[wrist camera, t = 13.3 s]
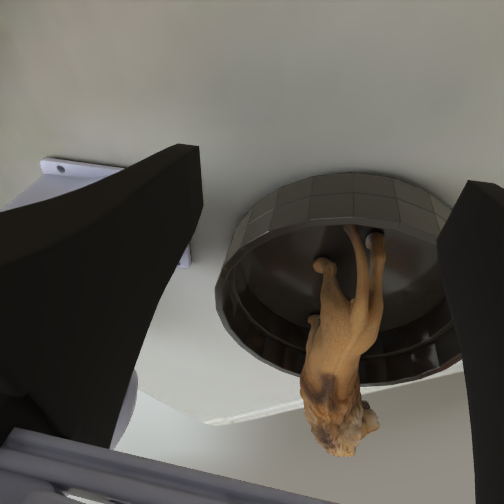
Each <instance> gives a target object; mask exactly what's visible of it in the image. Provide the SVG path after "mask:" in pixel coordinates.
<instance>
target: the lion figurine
mask: <svg viewBox="0 0 504 504" xmlns="http://www.w3.org/2000/svg"><path fill="white" fill-rule="evenodd" d="M343 227H344V230H345V231H346V233H347V234H348V236H349V237H350V239H351V242H352V244H353V247H354V250H355V255H356V263H357V289H356V297H355V298H354V299H352V300H350V298H349V297H348V295H347V294H346V293H345V292H344V290H343V289H342V288H341V287H340V286H339V284H338V281H337V279H336V277H335V276H336V272H337V268H336V264H335V263H333V262H332V261H330V260H329V259H328V258H325V257H320V258H317V259H316V260H315V261H314V262H313V267H314V269H315V271H317V272H318V273H323V283H322V288H321V293H320V301H321V312H320V315H316V314H315V315H311V316H309V317H308V322H309V323H310V324H311V329H310V332H309V337H308V341H307V345H306V353H307V354H306V359H305V364H304V366H303V369H302V371H301V374H300V387H301V389H300V395H301V397H302V399H303V401H304V409H305V416H306V419H307V421H308V422H309V424H310V425H311V431H312V433H313V435H314V437H315V440H316V441H317V443H318V444H320V445H321V446H322V447H324V448H325V449H326V451H327V453H329V454H333V455H335V456H338V457H339V456H354V455H355V452H356V447H355V446H358V445H359V443H360V440H361V439H362V438H364V437H365V436H366V434H368V433H370V432H373V431H375V430H377V429H378V428H379V427H380V424H379V422H378V418H377V415H376V413H375V412H374V411H373V410H372V409H370V406H369V403H368V402H367V401H361V393H360V379H359V373H358V368H359V360H360V355H361V354H363V353H364V352H366V351H367V350H368V349H369V348H370V347H371V346H372V345H373V344H374V342H375V341H376V339H377V335H378V331H379V326H380V322H381V318H382V313H383V298H382V279H383V269H384V263H385V260H386V254H385V250H384V245H385V236H384V235H383V234H382V233H377V232H375V233H371V234H369V235H368V236H367V238H366V247H367V248H369V249H370V250H371V253H370V274H369V276H368V264H367V257H366V253H365V250H364V247H363V244H362V242H361V239H360V237H359V235H358V233H357V231H356V228H355V225H354V224H350V225H343Z"/></svg>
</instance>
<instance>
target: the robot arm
mask: <svg viewBox="0 0 504 504" xmlns="http://www.w3.org/2000/svg"><path fill="white" fill-rule="evenodd" d="M40 166H41V169H42V171H43V173H44V175H42V176H41V177H40V178H39V179H38V180H36V181H35V182H34V183H33V184H31V185H30V186H29V187H28V188H27V189H25V190H24V191H23V192H22V193H21V194H19V195H18V196H17V197H16V198H15V199H13V200H12V201H11V202H10V203H8V204H7V205H6V206H5V207H4V208H2V209H1V210H0V504H85V503H82V502H79V501H76V500H74V499H71V498H68V497H67V496H68V494H70V495H73V496H77V497H81V498H85V499H89V500H93V501H97V502H101V503H105V504H338V503H333V502H329V501H325V500H321V499H317V498H312V497H308V496H304V495H300V494H295V493H291V492H287V491H283V490H279V489H274V488H270V487H266V486H262V485H258V484H253V483H249V482H245V481H241V480H236V479H232V478H228V477H224V476H220V475H215V474H211V473H207V472H203V471H198V470H194V469H190V468H186V467H182V466H177V465H173V464H168V463H165V462H160V461H156V460H152V459H148V458H144V457H139V456H135V455H131V454H127V453H122V452H118V451H114V450H113V449H114V448H115V447H116V445H117V444H118V442H119V440H120V439H121V437H122V435H123V434H124V432H125V430H126V428H127V426H128V424H129V421H130V419H131V417H132V414H133V411H134V408H135V404H136V398H137V388H138V377H137V373H136V371H135V369H134V367H135V364H136V361H137V359H138V356H139V353H140V350H141V348H142V345H143V342H144V339H145V336H146V334H147V331H148V328H149V326H150V323H151V321H152V318H153V315H154V313H155V310H156V308H157V305H158V303H159V300H160V298H161V296H162V294H163V292H164V290H165V288H166V286H167V284H168V282H169V280H170V278H171V276H172V274H173V273H174V271H175V269H176V267H179V268H189V267H190V265H191V255H190V247H189V242H190V240H191V238H192V236H193V234H194V232H195V229H196V226H197V224H198V221H199V218H200V215H201V212H202V209H203V193H202V179H201V166H200V152H199V146H194V145H186V144H176V145H173V146H170V147H168V148H166V149H164V150H162V151H160V152H158V153H156V154H154V155H152V156H150V157H148V158H146V159H144V160H142V161H140V162H138V163H135V164H133V165H131V166H129V167H127V168H119V167H111V166H104V165H97V164H89V163H82V162H75V161H68V160H60V159H53V158H44V159H43V160H41V161H40ZM61 166H62V167H63V168H64V169H63V168H62V167H61ZM436 242H437V256H438V265H439V272H440V276H441V280H442V284H443V287H444V291H445V295H446V299H447V302H448V306H449V309H450V313H451V317H452V320H453V324H454V327H455V331H456V335H457V338H458V342H459V346H460V351H461V355H462V361H463V368H464V374H465V381H466V388H467V396H468V404H469V413H470V422H471V432H472V443H473V458H474V471H475V496H476V504H504V189H503V188H501V187H500V186H498V185H496V184H494V183H487V182H479V181H471V180H468V181H467V183H466V185H465V187H464V189H463V191H462V193H461V195H460V196H459V198H458V200H457V202H456V204H455V206H454V208H453V210H452V211H451V213H450V215H449V217H448V219H447V221H446V223H445V225H444V226H443V228H442V230H441V232H440V234H439V236H438V238H437V240H436Z"/></svg>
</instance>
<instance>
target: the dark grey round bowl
mask: <svg viewBox="0 0 504 504" xmlns="http://www.w3.org/2000/svg"><path fill="white" fill-rule="evenodd" d="M451 211H452V210H451V209H450V208H449V207H447V206H446V205H445V204H443V203H442V202H441V201H439V200H438V199H437V198H436V197H434V196H433V195H432V194H430V193H429V192H427V191H426V190H423V189H421V188H418V187H416V186H413V185H410V184H408V183H405V182H403V181H400V180H397V179H395V178H391V177H385V176H377V175H369V174H361V173H352V172H351V173H341V174H330V175H320V176H314V177H310V178H307V179H304V180H301V181H298V182H296V183H293V184H290V185H287V186H284V187H281V188H279V189H277V190H276V191H274V192H273V193H271V194H270V195H268V196H267V197H265V198H264V199H262V200H261V201H259V202H258V203H256V204H255V205H254V206H253V207H252V208H251V209H250V211H249V212H248V213H247V214H246V216H245V217H244V218H243V219H242V220H241V222H240V223H239V224H238V226H237V228H236V230H235V233H234V236H233V239H232V241H231V244H230V247H229V250H228V253H227V255H226V258H225V261H224V264H223V267H222V269H221V272H220V275H219V278H218V280H217V283H216V286H215V301H216V310H217V313H218V315H219V317H220V319H221V321H222V324H223V326H224V328H225V329H226V331H227V332H228V333H229V334H230V335H231V336H232V338H233V339H234V340H235V341H236V342H237V343H238V345H239V346H241V347H242V348H243V349H245V350H246V351H247V352H249V353H250V354H251V355H253V356H254V357H255V358H257V359H258V360H260V361H262V362H264V363H266V364H268V365H270V366H272V367H274V368H276V369H278V370H280V371H282V372H285V373H288V374H291V375H294V376H297V377H300V374H301V371H302V369H303V366H304V364H305V359H306V354H307V353H306V345H307V341H308V337H309V332H310V329H311V324H310V323H309V322H308V317H309V316H311V315H315V314H316V315H320V312H321V301H320V293H321V288H322V283H323V273H318V272H317V271H315V269H314V267H313V262H314V261H315V260H316V259H317V258H320V257H325V258H328V259H329V260H330V261H332V262H333V263H335V264H336V268H337V272H336V276H335V277H336V279H337V281H338V284H339V286H340V287H341V288H342V289H343V290H344V292H345V293H346V294H347V295H348V297H349V298H350V300H352V299H354V298H355V297H356V289H357V263H356V255H355V250H354V247H353V244H352V242H351V239H350V237H349V236H348V234H347V233H346V231H345V230H344V227H343V225H350V224H354V225H355V228H356V231H357V233H358V235H359V237H360V239H361V242H362V244H363V247H364V250H365V253H366V257H367V264H368V276H369V274H370V253H371V250H370V249H369V248H367V247H366V238H367V236H368V235H369V234H371V233H375V232H377V233H382V234H383V235H384V236H385V245H384V250H385V254H386V260H385V263H384V269H383V279H382V298H383V313H382V318H381V322H380V326H379V331H378V335H377V339H376V341H375V342H374V344H373V345H372V346H371V347H370V348H369V349H368V350H367V351H366V352H364V353H363V354H361V355H360V360H359V368H358V373H359V379H360V387H368V386H386V385H394V384H399V383H404V382H409V381H414V380H418V379H422V378H425V377H427V376H430V375H433V374H435V373H438V372H441V371H443V370H445V369H447V368H449V367H451V366H452V365H454V364H455V363H457V362H458V361H460V360H462V355H461V351H460V346H459V342H458V338H457V335H456V331H455V327H454V324H453V320H452V317H451V313H450V309H449V306H448V302H447V299H446V295H445V291H444V287H443V284H442V280H441V276H440V272H439V265H438V256H437V242H436V240H437V238H438V236H439V234H440V232H441V230H442V228H443V226H444V225H445V223H446V221H447V219H448V217H449V215H450V213H451Z"/></svg>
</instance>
